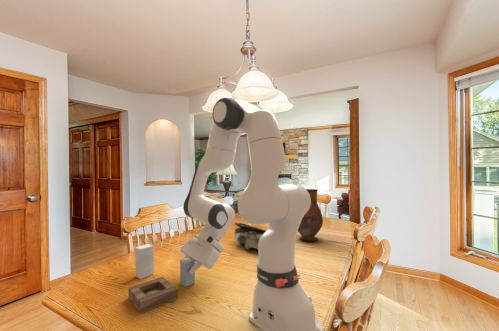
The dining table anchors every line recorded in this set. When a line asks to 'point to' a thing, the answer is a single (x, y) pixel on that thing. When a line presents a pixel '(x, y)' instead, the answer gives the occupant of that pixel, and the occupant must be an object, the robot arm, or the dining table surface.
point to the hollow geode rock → (248, 235)
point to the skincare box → (144, 261)
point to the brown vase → (311, 220)
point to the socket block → (152, 294)
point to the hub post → (186, 272)
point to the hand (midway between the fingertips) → (185, 271)
